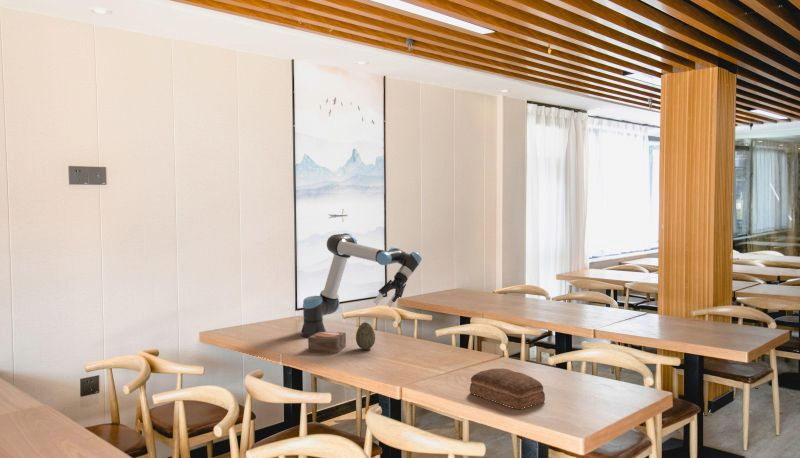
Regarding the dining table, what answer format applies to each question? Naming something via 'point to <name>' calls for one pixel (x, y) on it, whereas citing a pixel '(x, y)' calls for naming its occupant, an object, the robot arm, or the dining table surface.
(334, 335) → the pedestal
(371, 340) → the decorative egg
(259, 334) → the dining table surface
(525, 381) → the bread
